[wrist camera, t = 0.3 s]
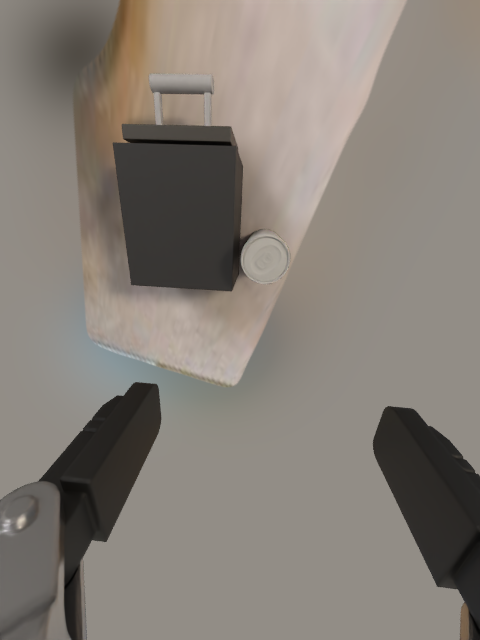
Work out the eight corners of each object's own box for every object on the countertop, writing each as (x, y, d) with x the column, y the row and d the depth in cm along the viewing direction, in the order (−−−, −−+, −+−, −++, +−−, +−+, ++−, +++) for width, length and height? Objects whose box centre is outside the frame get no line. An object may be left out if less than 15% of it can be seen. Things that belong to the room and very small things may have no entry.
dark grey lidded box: (152, 163, 31) (112, 142, 23) (243, 166, 31) (236, 145, 22) (160, 270, 36) (131, 285, 28) (238, 274, 36) (231, 291, 27)
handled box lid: (148, 95, 28) (113, 56, 21) (239, 97, 27) (232, 57, 21) (161, 251, 34) (137, 259, 28) (234, 255, 34) (228, 264, 27)
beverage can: (288, 248, 34) (302, 262, 23) (261, 271, 35) (262, 295, 24) (265, 220, 33) (268, 221, 22) (239, 246, 34) (229, 258, 23)
